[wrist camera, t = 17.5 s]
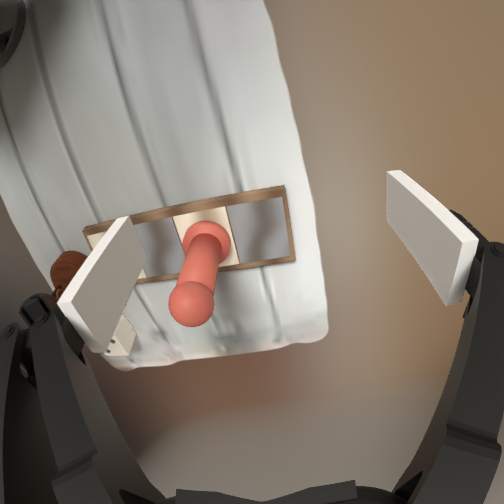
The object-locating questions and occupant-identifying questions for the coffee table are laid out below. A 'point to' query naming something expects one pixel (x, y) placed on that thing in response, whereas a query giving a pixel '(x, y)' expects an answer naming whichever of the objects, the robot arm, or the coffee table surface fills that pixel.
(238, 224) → the board
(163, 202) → the coffee table surface
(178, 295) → the pawn
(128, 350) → the die
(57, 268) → the music box
